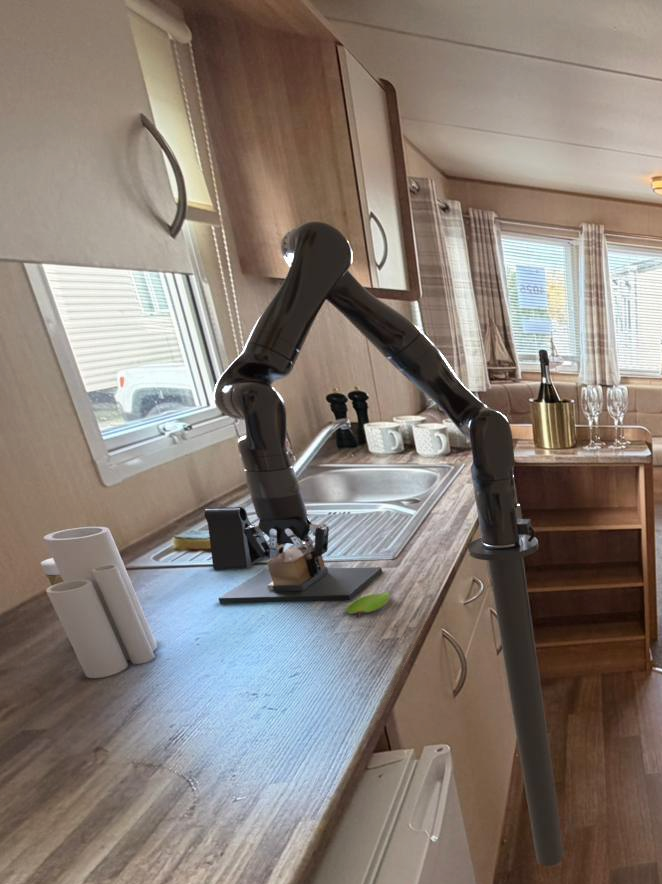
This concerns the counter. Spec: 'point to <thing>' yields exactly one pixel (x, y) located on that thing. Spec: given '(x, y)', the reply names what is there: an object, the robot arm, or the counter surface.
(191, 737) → the counter surface
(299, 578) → the eraser
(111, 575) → the vase
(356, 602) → the decorative leaf
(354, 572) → the memo board
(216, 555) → the phone stand
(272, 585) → the small white block
